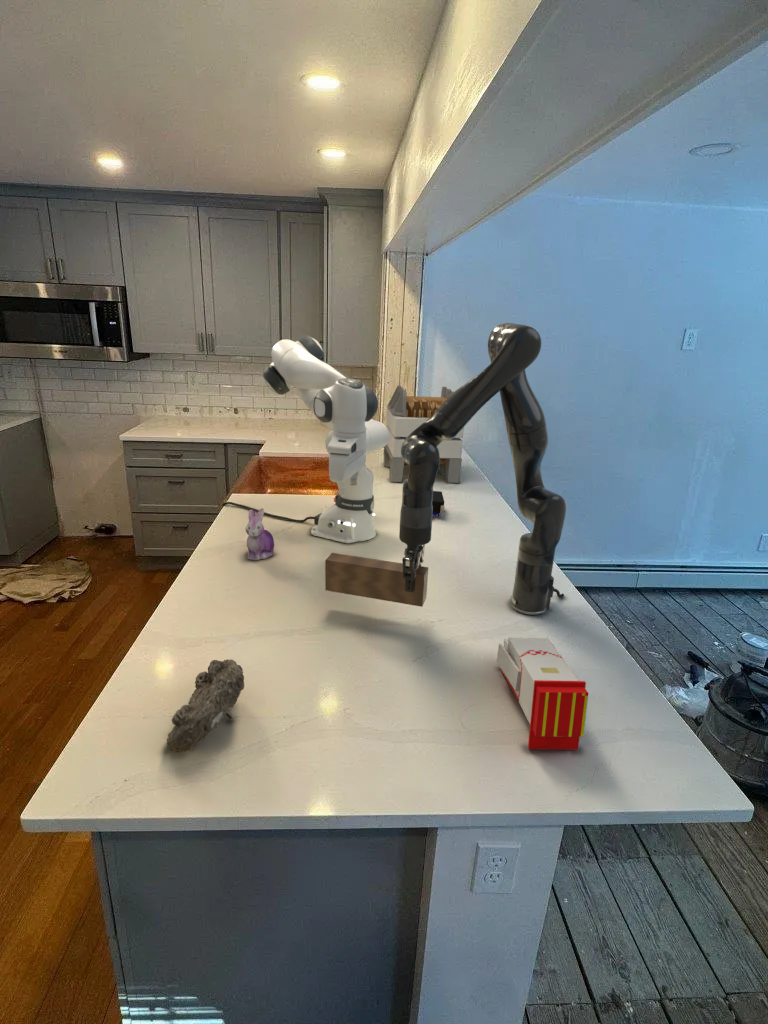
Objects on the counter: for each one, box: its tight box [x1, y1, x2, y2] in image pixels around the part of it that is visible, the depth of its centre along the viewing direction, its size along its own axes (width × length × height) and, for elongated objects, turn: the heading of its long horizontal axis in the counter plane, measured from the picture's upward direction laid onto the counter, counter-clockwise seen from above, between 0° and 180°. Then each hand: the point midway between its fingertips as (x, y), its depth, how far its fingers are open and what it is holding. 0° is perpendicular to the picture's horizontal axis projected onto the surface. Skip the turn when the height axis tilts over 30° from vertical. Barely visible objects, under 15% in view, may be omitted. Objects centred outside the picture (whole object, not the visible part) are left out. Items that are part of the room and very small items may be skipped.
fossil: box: [166, 658, 245, 754], centre depth 106 cm, size 22×10×15 cm
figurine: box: [245, 508, 275, 561], centre depth 176 cm, size 9×10×15 cm
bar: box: [324, 552, 429, 608], centre depth 141 cm, size 25×5×8 cm, turn 74°
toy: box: [496, 637, 589, 751], centre depth 115 cm, size 12×13×30 cm
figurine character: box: [432, 490, 445, 519], centre depth 220 cm, size 7×8×15 cm
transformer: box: [383, 384, 465, 484], centre depth 268 cm, size 34×33×41 cm
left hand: (348, 489), depth 158 cm, fingers open, 8 cm apart
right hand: (412, 586), depth 139 cm, fingers closed on bar, 4 cm apart
